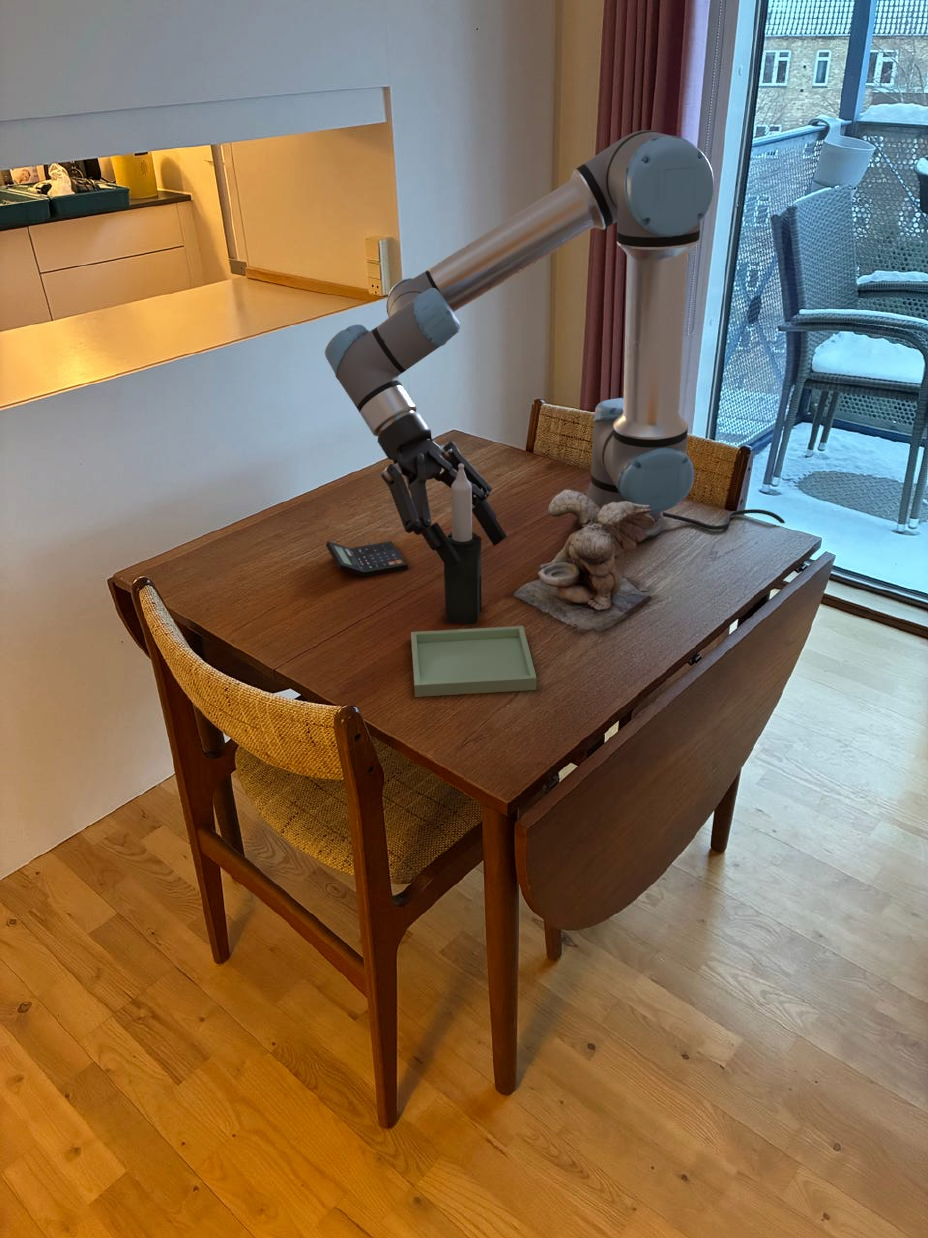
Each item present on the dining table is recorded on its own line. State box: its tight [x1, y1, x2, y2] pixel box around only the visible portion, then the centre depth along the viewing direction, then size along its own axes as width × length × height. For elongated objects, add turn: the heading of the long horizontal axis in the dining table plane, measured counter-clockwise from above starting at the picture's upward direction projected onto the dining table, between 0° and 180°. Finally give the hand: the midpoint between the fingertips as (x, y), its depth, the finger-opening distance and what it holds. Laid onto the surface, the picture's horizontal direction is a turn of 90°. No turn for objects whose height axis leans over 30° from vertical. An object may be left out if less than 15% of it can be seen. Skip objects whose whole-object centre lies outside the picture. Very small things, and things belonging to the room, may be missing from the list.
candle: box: [443, 463, 482, 625], centre depth 142 cm, size 5×5×25 cm
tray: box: [410, 625, 538, 698], centre depth 136 cm, size 17×14×2 cm
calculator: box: [325, 540, 409, 578], centre depth 163 cm, size 9×12×3 cm
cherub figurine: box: [512, 489, 655, 634], centre depth 149 cm, size 18×18×18 cm
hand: (478, 553), depth 141 cm, fingers open, 9 cm apart
